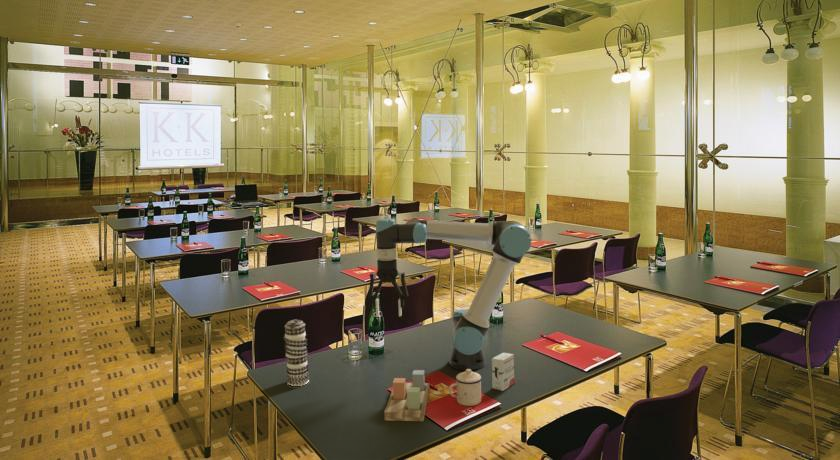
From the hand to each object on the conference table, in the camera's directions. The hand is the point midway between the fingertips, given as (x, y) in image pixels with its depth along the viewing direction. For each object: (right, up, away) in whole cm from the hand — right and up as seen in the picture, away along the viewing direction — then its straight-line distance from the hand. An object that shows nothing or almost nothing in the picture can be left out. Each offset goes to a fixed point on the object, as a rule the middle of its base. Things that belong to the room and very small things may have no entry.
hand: (389, 315), depth 220 cm
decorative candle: (-36, -27, 0) cm, 45 cm away
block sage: (+10, -27, -30) cm, 41 cm away
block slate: (+12, -24, -15) cm, 31 cm away
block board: (+8, -28, -22) cm, 37 cm away
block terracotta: (+5, -26, -22) cm, 34 cm away
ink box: (+44, -26, -8) cm, 51 cm away
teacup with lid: (+28, -28, -20) cm, 45 cm away
